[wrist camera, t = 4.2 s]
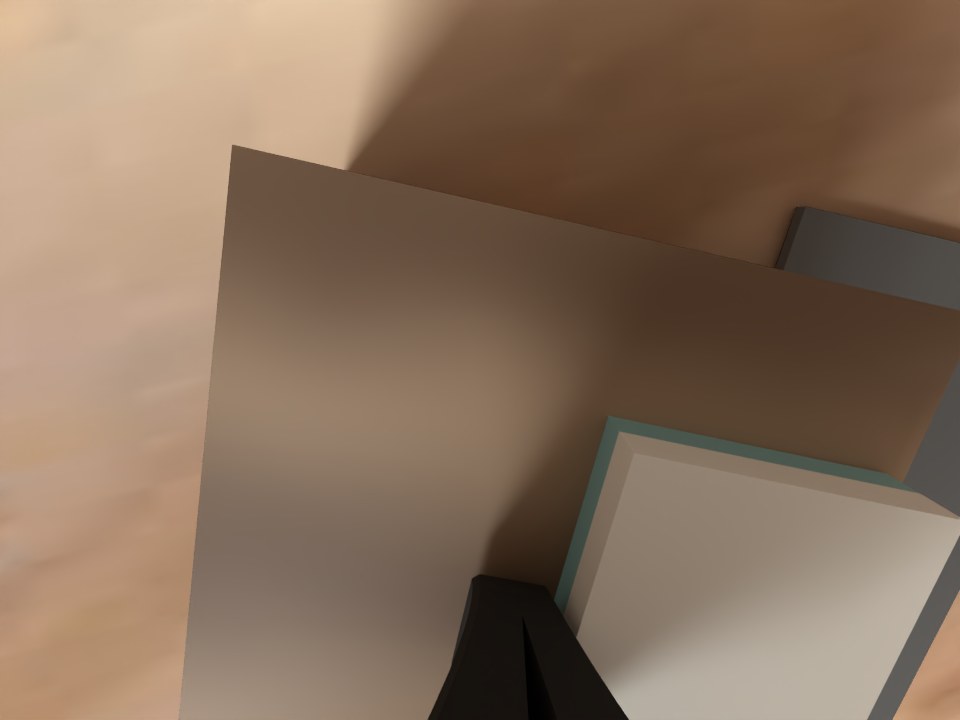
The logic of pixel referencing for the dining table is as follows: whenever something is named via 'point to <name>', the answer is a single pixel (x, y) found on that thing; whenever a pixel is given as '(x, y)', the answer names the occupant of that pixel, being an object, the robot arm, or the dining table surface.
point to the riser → (476, 416)
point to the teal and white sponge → (745, 577)
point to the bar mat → (956, 423)
